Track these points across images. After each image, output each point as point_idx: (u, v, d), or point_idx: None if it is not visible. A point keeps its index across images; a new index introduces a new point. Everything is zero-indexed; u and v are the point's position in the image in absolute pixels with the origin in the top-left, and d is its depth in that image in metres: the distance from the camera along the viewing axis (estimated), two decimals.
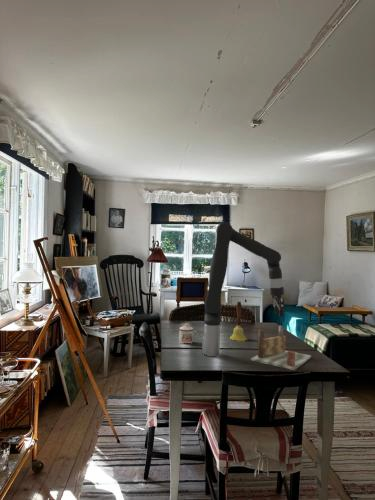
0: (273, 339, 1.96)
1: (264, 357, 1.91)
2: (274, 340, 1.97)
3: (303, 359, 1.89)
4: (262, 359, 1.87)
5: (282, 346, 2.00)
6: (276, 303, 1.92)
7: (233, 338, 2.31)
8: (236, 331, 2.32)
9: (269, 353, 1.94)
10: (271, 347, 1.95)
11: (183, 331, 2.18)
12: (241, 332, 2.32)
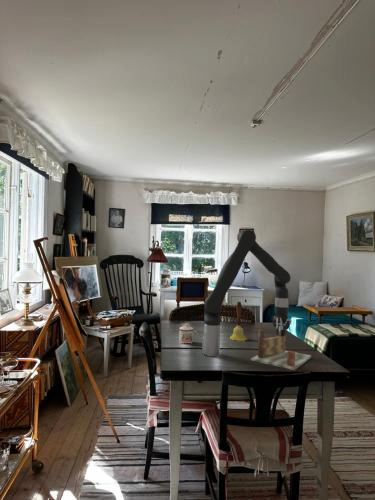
0: (273, 339, 1.96)
1: (264, 357, 1.91)
2: (274, 340, 1.97)
3: (303, 359, 1.89)
4: (262, 359, 1.87)
5: (282, 346, 2.00)
6: (280, 322, 1.99)
7: (233, 338, 2.31)
8: (236, 331, 2.32)
9: (269, 353, 1.94)
10: (271, 347, 1.95)
11: (183, 331, 2.18)
12: (241, 332, 2.32)
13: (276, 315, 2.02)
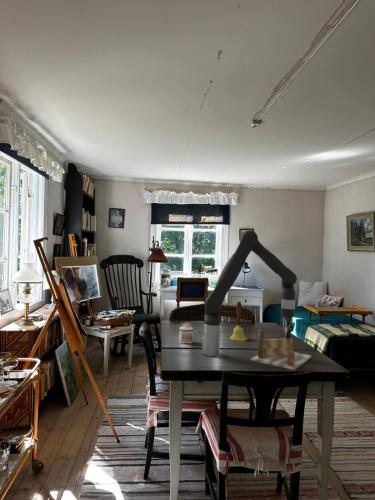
0: (276, 340, 1.93)
1: (264, 357, 1.91)
2: (278, 341, 1.93)
3: (303, 359, 1.89)
4: (262, 359, 1.87)
5: (288, 348, 1.95)
6: (285, 324, 1.94)
7: (233, 338, 2.31)
8: (236, 331, 2.32)
9: (271, 354, 1.92)
10: (273, 348, 1.93)
11: (183, 331, 2.18)
12: (241, 332, 2.32)
13: (283, 316, 1.98)
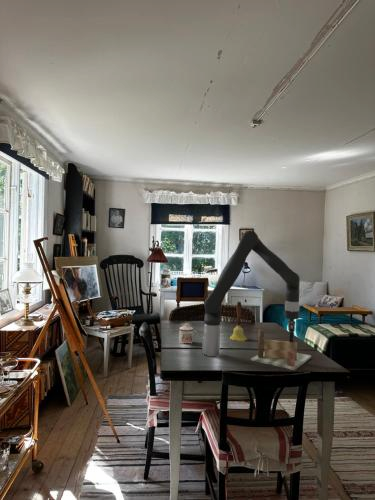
0: (277, 342, 1.89)
1: (264, 357, 1.91)
2: (279, 343, 1.89)
3: (303, 359, 1.89)
4: (262, 359, 1.87)
5: None
6: (288, 326, 1.88)
7: (233, 338, 2.31)
8: (236, 331, 2.32)
9: (271, 356, 1.90)
10: (274, 350, 1.89)
11: (183, 331, 2.18)
12: (241, 332, 2.32)
13: None
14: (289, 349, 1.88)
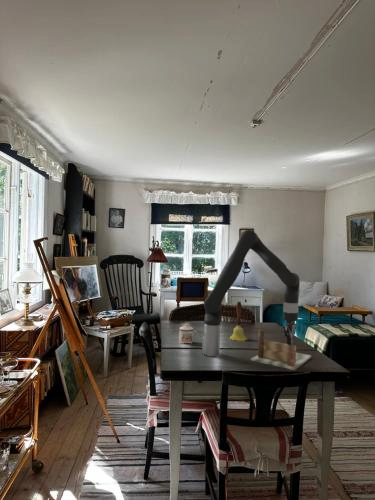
0: (276, 344, 1.86)
1: (264, 357, 1.91)
2: (278, 345, 1.85)
3: (303, 359, 1.89)
4: (262, 359, 1.87)
5: None
6: None
7: (233, 338, 2.31)
8: (236, 331, 2.32)
9: (270, 357, 1.88)
10: (273, 351, 1.87)
11: (183, 331, 2.18)
12: (241, 332, 2.32)
13: None
14: None
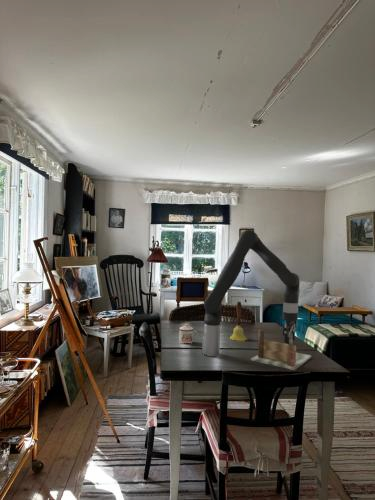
0: (276, 344, 1.86)
1: (264, 357, 1.91)
2: (278, 345, 1.85)
3: (303, 359, 1.89)
4: (262, 359, 1.87)
5: None
6: None
7: (233, 338, 2.31)
8: (236, 331, 2.32)
9: (270, 357, 1.88)
10: (273, 351, 1.87)
11: (183, 331, 2.18)
12: (241, 332, 2.32)
13: None
14: None
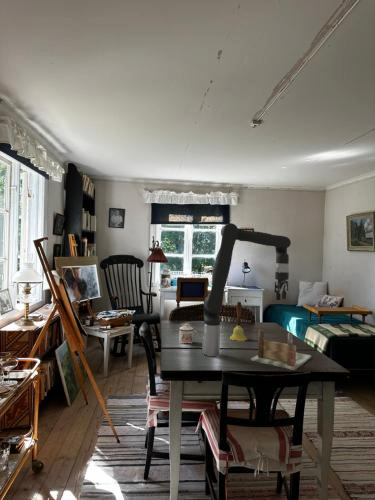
0: (276, 344, 1.86)
1: (264, 357, 1.91)
2: (278, 345, 1.85)
3: (303, 359, 1.89)
4: (262, 359, 1.87)
5: None
6: None
7: (233, 338, 2.31)
8: (236, 331, 2.32)
9: (270, 357, 1.88)
10: (273, 351, 1.87)
11: (183, 331, 2.18)
12: (241, 332, 2.32)
13: None
14: None
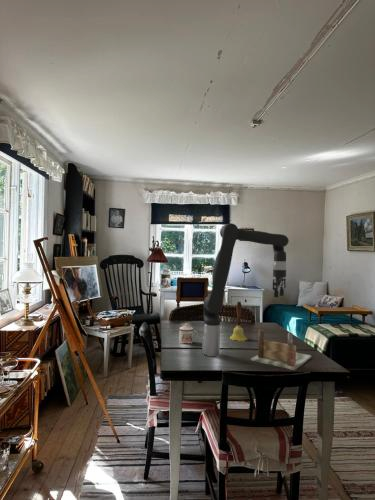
0: (276, 344, 1.86)
1: (264, 357, 1.91)
2: (278, 345, 1.85)
3: (303, 359, 1.89)
4: (262, 359, 1.87)
5: None
6: (275, 284, 2.03)
7: (233, 338, 2.31)
8: (236, 331, 2.32)
9: (270, 357, 1.88)
10: (273, 351, 1.87)
11: (183, 331, 2.18)
12: (241, 332, 2.32)
13: None
14: None
